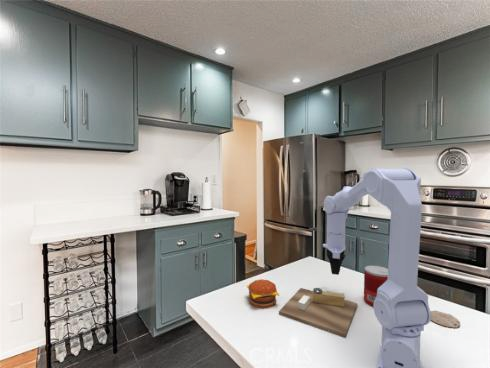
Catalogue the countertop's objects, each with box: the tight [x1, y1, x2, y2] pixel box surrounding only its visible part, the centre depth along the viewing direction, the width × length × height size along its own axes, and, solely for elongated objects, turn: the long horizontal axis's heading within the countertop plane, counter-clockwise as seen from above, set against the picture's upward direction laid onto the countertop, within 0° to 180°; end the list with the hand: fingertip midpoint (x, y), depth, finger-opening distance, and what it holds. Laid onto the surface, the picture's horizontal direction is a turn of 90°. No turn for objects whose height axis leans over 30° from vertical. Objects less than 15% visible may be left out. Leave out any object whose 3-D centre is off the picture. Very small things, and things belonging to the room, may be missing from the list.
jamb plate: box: [278, 287, 359, 338], centre depth 77 cm, size 18×19×1 cm
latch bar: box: [312, 287, 346, 307], centre depth 79 cm, size 10×3×4 cm, turn 71°
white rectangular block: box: [298, 295, 310, 310], centre depth 77 cm, size 5×2×2 cm, turn 146°
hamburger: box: [246, 279, 280, 309], centre depth 82 cm, size 9×10×7 cm
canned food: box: [363, 265, 388, 307], centre depth 81 cm, size 8×8×11 cm
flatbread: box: [430, 310, 461, 329], centre depth 72 cm, size 8×8×1 cm
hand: (335, 272), depth 82 cm, fingers closed
